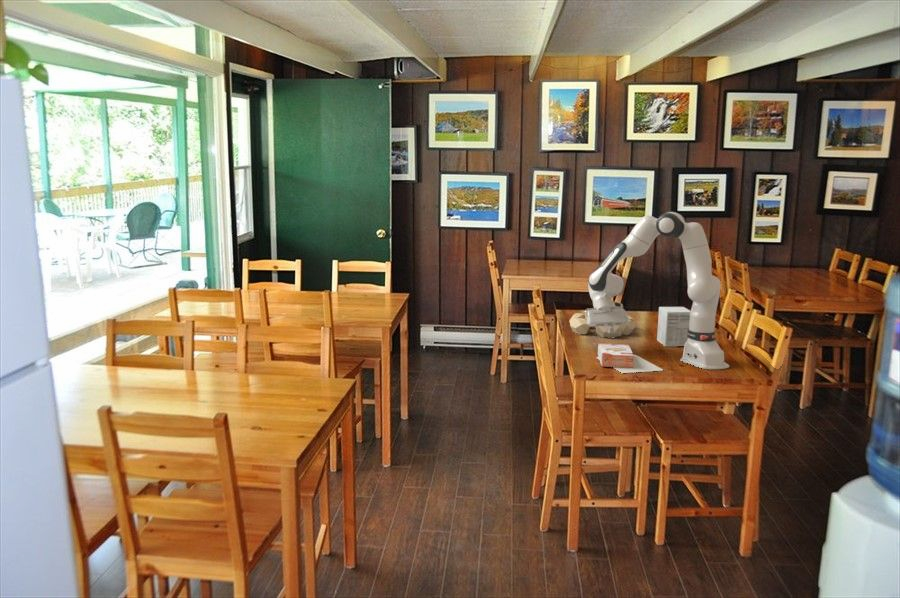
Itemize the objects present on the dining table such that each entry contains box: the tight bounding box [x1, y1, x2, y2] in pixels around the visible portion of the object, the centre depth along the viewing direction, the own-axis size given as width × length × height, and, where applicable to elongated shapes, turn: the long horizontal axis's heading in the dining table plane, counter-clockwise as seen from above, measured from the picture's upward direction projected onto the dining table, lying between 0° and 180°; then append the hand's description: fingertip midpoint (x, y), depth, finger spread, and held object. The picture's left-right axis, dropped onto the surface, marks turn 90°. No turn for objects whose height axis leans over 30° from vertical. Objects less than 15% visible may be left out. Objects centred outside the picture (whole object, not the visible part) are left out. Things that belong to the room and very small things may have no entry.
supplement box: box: [656, 306, 691, 347], centre depth 381 cm, size 13×13×18 cm
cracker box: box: [597, 342, 635, 368], centre depth 346 cm, size 14×6×21 cm
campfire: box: [568, 312, 636, 339], centre depth 406 cm, size 35×34×17 cm
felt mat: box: [595, 354, 664, 375], centre depth 344 cm, size 26×20×1 cm
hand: (611, 332), depth 359 cm, fingers closed
